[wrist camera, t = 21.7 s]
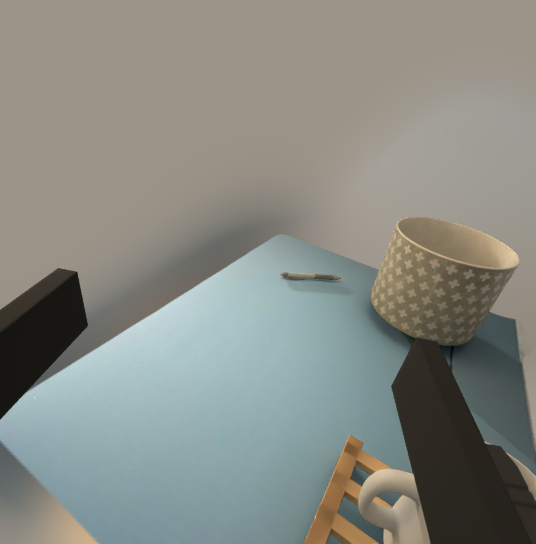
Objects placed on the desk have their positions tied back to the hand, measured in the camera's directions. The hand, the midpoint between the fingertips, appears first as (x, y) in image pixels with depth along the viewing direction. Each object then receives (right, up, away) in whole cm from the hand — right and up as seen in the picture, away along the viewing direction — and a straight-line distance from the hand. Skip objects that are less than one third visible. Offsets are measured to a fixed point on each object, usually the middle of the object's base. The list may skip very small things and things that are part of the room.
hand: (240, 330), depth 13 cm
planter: (+30, -8, +50) cm, 59 cm away
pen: (+10, 0, +58) cm, 59 cm away
